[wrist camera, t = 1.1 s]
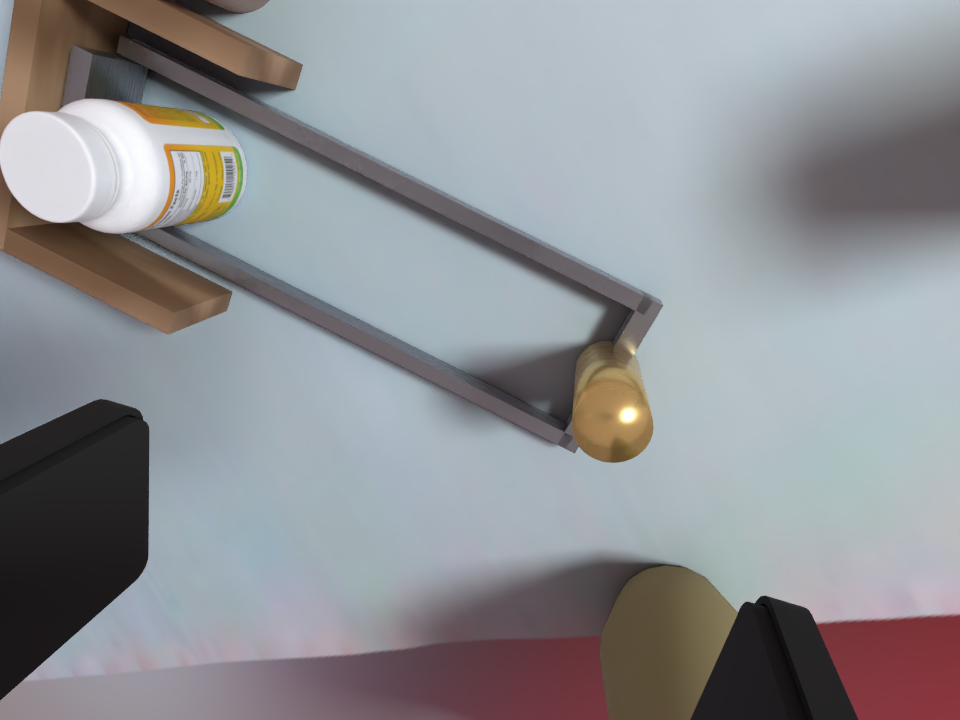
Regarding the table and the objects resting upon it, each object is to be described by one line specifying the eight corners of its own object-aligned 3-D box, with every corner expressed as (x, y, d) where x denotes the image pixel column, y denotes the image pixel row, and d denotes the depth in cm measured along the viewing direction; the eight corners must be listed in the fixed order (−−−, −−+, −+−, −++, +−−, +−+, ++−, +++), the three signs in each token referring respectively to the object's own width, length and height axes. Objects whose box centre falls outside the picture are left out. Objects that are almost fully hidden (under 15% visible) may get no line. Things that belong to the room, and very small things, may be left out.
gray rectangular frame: (593, 452, 32) (595, 525, 26) (102, 205, 33) (-20, 216, 26) (680, 310, 29) (707, 352, 23) (137, 40, 30) (9, 4, 23)
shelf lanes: (226, 310, 34) (168, 334, 29) (65, 229, 34) (-19, 240, 29) (354, -101, 26) (304, -159, 22) (148, -203, 26) (53, -281, 22)
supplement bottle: (135, 147, 32) (-48, 140, 22) (209, 89, 30) (45, 57, 21) (195, 238, 33) (43, 267, 23) (270, 187, 31) (138, 196, 22)
